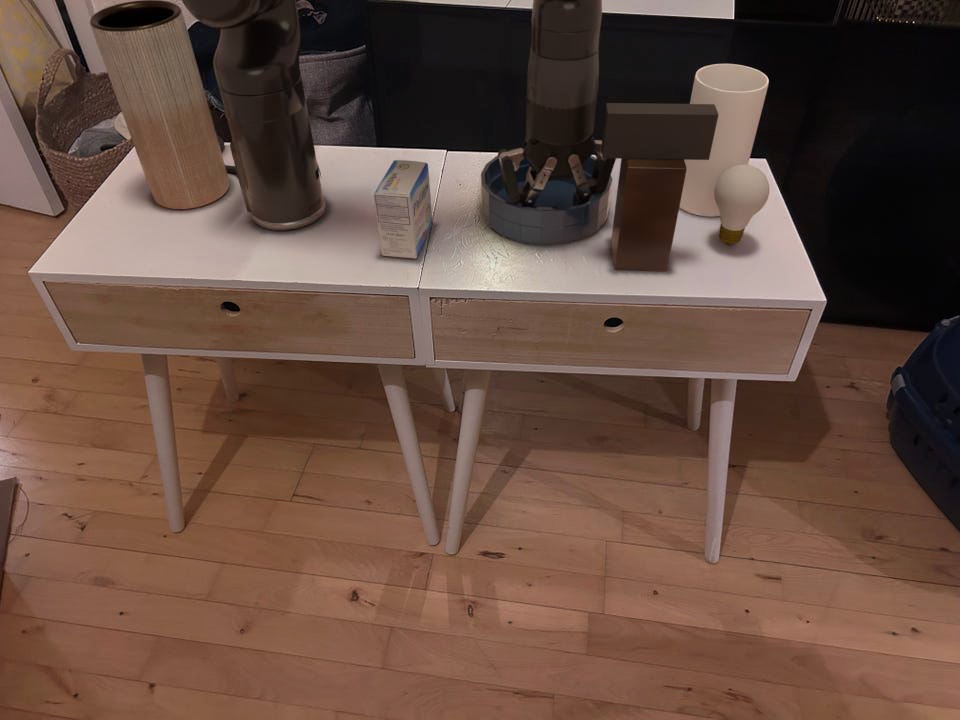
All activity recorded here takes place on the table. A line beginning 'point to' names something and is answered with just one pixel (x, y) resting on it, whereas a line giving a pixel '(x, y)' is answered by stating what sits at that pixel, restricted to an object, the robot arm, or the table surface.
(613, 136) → the dark brown flat block
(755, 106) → the cup
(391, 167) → the medicine box
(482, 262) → the table surface
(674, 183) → the stand
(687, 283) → the table surface
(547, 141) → the robot arm
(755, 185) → the light bulb
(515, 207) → the bowl
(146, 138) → the planter
